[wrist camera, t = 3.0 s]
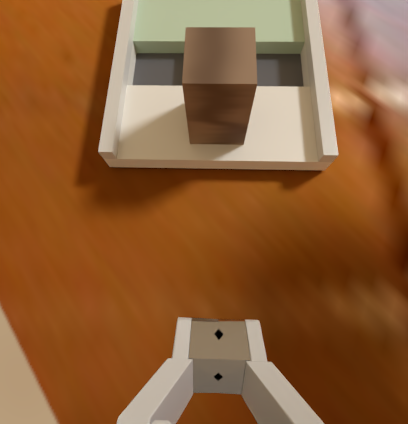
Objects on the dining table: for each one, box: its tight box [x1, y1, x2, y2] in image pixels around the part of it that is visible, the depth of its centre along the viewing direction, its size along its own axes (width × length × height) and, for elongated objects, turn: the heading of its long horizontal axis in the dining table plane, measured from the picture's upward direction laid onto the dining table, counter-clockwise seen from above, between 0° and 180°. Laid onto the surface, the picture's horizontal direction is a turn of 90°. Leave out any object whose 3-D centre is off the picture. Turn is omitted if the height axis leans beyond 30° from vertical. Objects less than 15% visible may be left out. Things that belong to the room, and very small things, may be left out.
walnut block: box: [182, 27, 257, 145], centre depth 27 cm, size 6×6×9 cm
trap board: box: [98, 0, 338, 170], centre depth 34 cm, size 25×28×4 cm
